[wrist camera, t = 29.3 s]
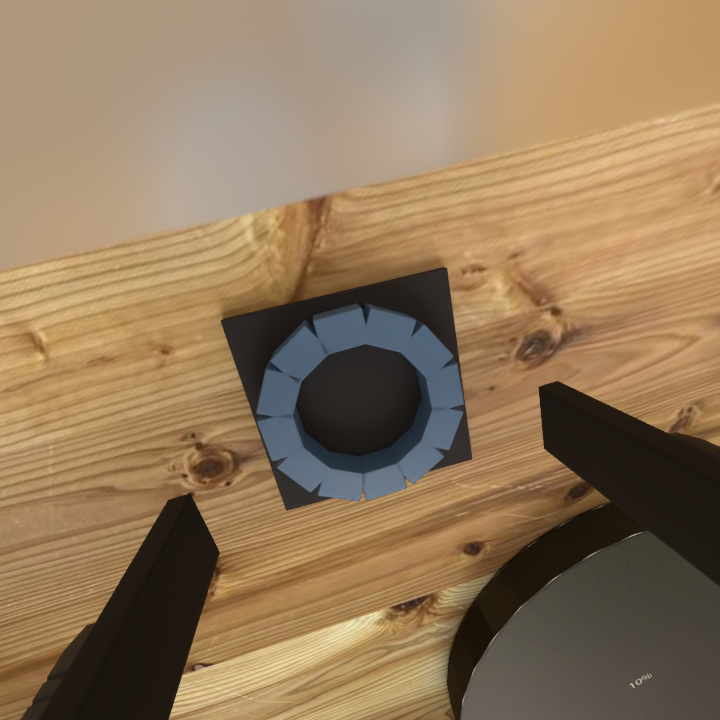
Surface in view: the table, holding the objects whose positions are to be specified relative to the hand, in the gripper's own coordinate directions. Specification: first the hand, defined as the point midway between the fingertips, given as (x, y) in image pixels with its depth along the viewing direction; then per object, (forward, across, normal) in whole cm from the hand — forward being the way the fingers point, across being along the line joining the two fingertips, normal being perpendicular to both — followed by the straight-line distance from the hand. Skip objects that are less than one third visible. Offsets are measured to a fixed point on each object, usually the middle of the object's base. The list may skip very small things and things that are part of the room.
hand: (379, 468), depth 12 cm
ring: (+7, 0, 0) cm, 7 cm away
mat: (+8, 0, 0) cm, 8 cm away
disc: (+7, +16, -29) cm, 34 cm away
